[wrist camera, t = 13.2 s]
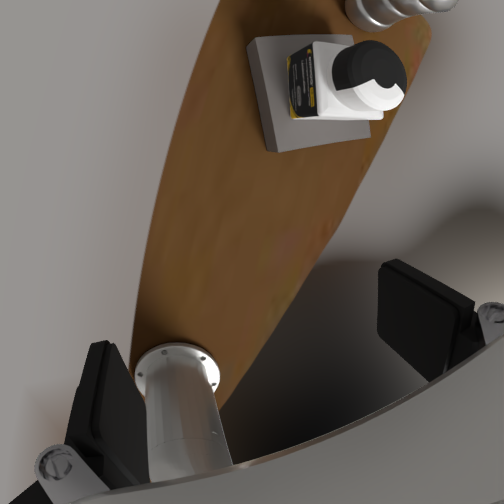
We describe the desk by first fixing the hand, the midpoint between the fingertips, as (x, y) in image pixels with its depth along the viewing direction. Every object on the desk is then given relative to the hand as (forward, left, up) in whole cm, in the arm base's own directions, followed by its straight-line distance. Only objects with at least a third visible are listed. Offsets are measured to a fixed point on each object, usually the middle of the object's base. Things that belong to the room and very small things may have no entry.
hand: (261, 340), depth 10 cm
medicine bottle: (+9, -15, -24) cm, 30 cm away
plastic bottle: (+20, -27, -28) cm, 44 cm away
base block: (+9, -16, -28) cm, 33 cm away
